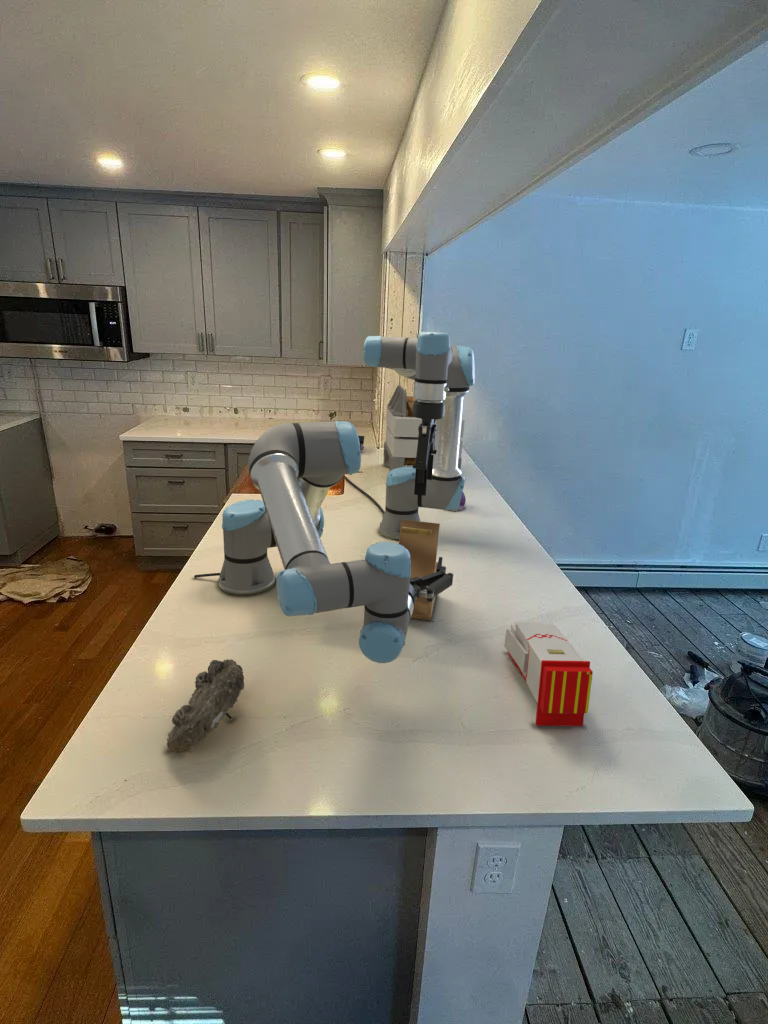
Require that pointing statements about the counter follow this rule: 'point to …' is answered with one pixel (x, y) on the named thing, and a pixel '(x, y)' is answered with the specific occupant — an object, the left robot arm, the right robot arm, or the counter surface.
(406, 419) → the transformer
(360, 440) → the figurine character
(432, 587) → the left robot arm
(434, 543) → the lid
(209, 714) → the fossil
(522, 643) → the toy
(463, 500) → the figurine
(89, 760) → the counter surface
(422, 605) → the chest
